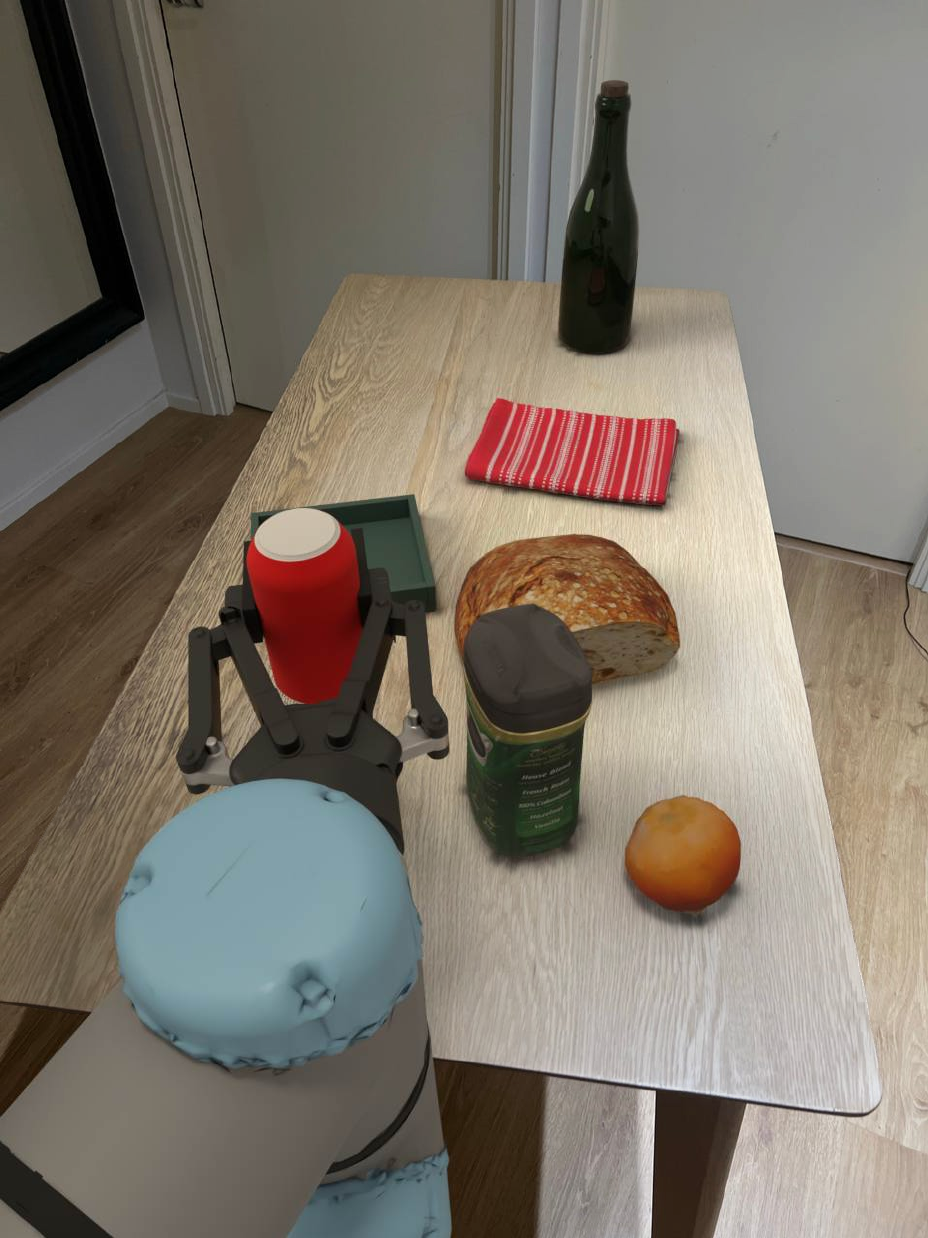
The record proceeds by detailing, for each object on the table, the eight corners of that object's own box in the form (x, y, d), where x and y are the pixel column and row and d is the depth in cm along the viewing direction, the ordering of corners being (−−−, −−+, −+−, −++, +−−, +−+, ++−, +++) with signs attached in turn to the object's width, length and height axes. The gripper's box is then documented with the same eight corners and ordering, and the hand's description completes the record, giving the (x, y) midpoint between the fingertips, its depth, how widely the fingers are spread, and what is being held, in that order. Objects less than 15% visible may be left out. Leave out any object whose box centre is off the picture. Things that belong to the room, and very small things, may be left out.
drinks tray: (256, 634, 86) (250, 609, 83) (256, 537, 97) (250, 512, 95) (436, 611, 88) (435, 585, 85) (416, 518, 99) (414, 493, 97)
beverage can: (389, 662, 58) (372, 514, 50) (339, 728, 54) (312, 578, 46) (310, 635, 60) (282, 488, 52) (256, 696, 56) (217, 548, 48)
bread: (470, 717, 77) (468, 635, 71) (441, 583, 91) (437, 503, 84) (695, 687, 79) (714, 604, 73) (635, 560, 93) (646, 480, 86)
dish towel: (495, 411, 115) (495, 392, 114) (679, 434, 110) (683, 415, 109) (459, 484, 103) (458, 464, 102) (664, 513, 98) (667, 493, 97)
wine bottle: (632, 356, 126) (663, 91, 103) (558, 355, 126) (572, 92, 104) (626, 323, 133) (654, 70, 111) (556, 323, 134) (570, 71, 111)
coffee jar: (591, 845, 68) (614, 678, 55) (493, 874, 66) (494, 709, 53) (545, 750, 75) (556, 582, 62) (455, 774, 73) (448, 607, 60)
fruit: (721, 957, 60) (683, 865, 57) (631, 924, 66) (593, 840, 63) (780, 877, 64) (747, 788, 61) (690, 853, 70) (656, 772, 67)
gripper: (130, 942, 41) (169, 612, 58) (527, 880, 43) (454, 578, 60) (79, 854, 36) (138, 520, 53) (532, 788, 38) (451, 486, 55)
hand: (306, 551), depth 57 cm, fingers closed on beverage can, 6 cm apart
